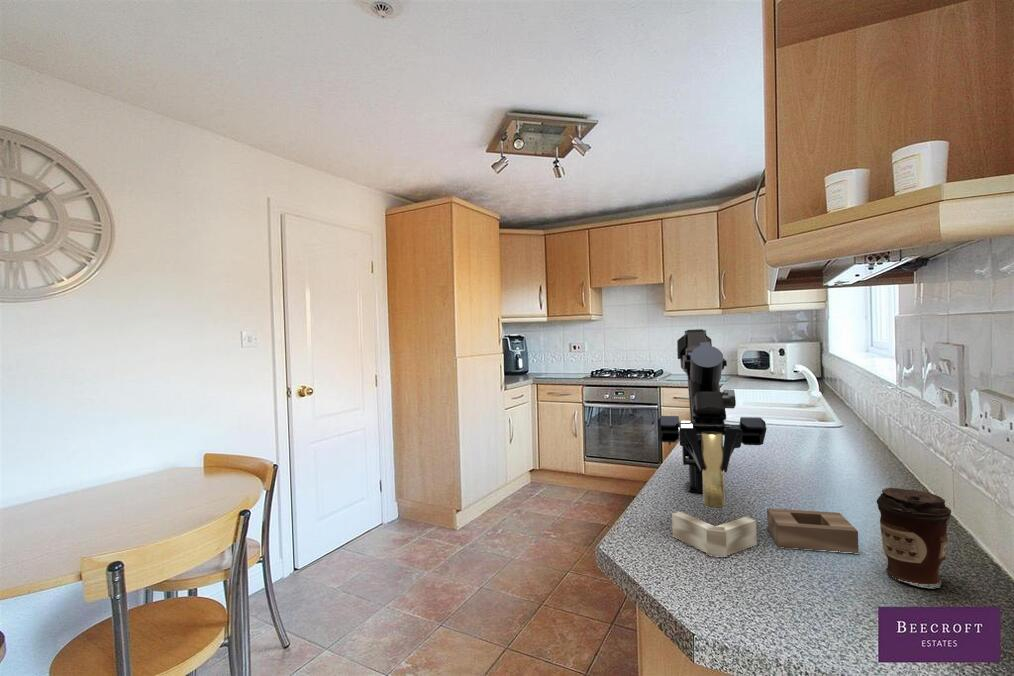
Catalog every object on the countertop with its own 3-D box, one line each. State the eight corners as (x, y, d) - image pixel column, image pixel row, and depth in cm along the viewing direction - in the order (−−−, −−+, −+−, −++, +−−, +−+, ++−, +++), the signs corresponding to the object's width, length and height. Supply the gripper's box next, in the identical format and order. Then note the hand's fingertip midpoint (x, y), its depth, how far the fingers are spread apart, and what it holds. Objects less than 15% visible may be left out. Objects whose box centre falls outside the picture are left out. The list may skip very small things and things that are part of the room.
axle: (709, 499, 89) (707, 430, 88) (728, 504, 86) (726, 433, 86) (699, 504, 86) (697, 433, 86) (719, 509, 83) (716, 436, 83)
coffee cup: (923, 599, 66) (920, 508, 66) (864, 571, 74) (861, 489, 74) (966, 588, 68) (964, 499, 68) (904, 561, 76) (902, 482, 76)
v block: (672, 534, 90) (671, 510, 90) (755, 542, 85) (754, 517, 85) (673, 552, 83) (672, 527, 83) (763, 562, 78) (762, 535, 78)
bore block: (767, 528, 90) (766, 508, 90) (840, 534, 87) (839, 512, 87) (778, 547, 83) (778, 525, 83) (858, 554, 79) (858, 531, 79)
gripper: (656, 374, 92) (657, 445, 82) (762, 374, 86) (778, 449, 76) (657, 407, 100) (659, 475, 90) (755, 409, 94) (769, 481, 84)
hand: (713, 470), depth 85 cm, fingers closed on axle, 4 cm apart
